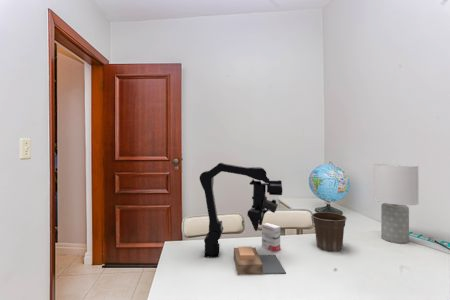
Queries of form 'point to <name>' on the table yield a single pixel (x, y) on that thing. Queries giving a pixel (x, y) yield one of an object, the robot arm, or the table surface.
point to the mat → (271, 265)
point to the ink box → (271, 237)
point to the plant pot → (329, 230)
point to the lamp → (395, 198)
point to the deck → (248, 264)
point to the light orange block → (246, 253)
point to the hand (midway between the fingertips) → (258, 227)
